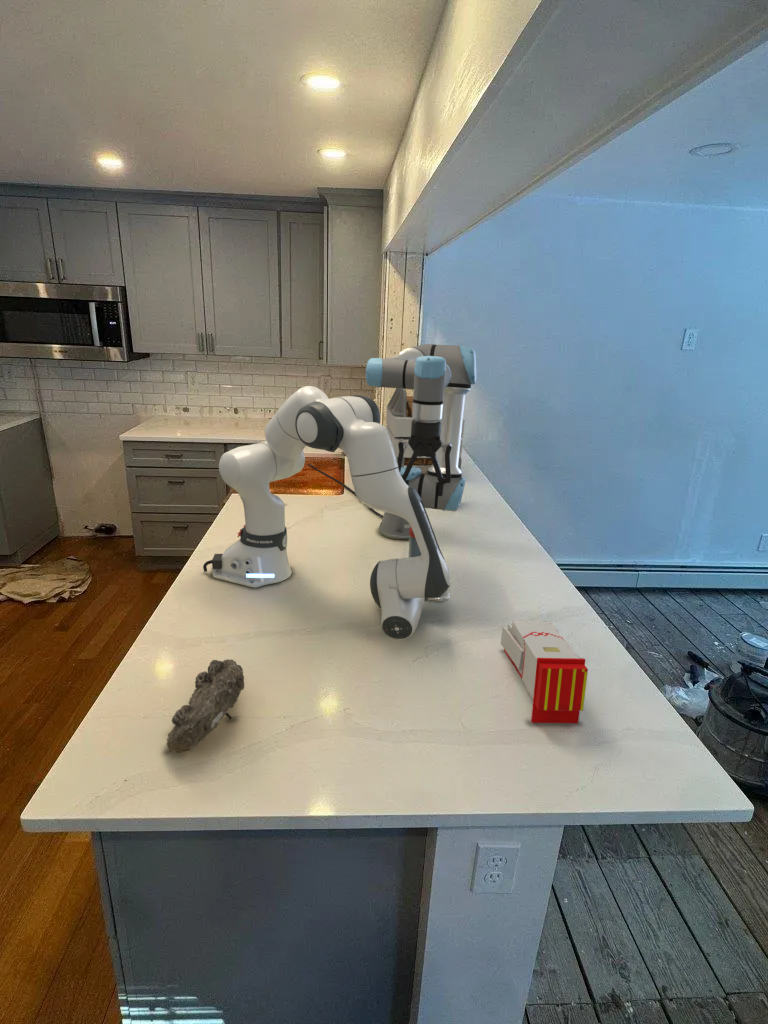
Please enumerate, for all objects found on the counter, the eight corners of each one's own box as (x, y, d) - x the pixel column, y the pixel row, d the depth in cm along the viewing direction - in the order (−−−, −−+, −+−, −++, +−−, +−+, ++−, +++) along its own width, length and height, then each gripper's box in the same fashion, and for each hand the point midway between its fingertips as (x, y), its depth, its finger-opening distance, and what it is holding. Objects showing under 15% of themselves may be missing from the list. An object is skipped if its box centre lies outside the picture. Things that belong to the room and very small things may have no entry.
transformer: (382, 463, 289) (386, 382, 275) (445, 464, 293) (451, 384, 279) (390, 482, 257) (394, 392, 243) (460, 483, 261) (468, 394, 247)
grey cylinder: (404, 589, 160) (408, 527, 154) (420, 588, 162) (424, 526, 155) (409, 597, 156) (413, 534, 150) (425, 596, 157) (430, 533, 151)
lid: (406, 531, 155) (406, 525, 154) (425, 530, 156) (425, 524, 155) (412, 539, 150) (412, 533, 149) (431, 538, 151) (431, 532, 150)
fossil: (192, 660, 117) (244, 628, 112) (224, 691, 120) (276, 661, 115) (142, 746, 98) (202, 712, 93) (182, 779, 101) (242, 748, 96)
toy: (547, 606, 135) (596, 665, 106) (541, 658, 138) (589, 729, 108) (496, 604, 134) (532, 664, 105) (492, 657, 137) (526, 729, 108)
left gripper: (449, 590, 141) (454, 567, 153) (369, 580, 144) (380, 558, 157) (447, 613, 143) (452, 588, 156) (368, 602, 146) (379, 578, 159)
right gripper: (466, 419, 145) (458, 504, 153) (388, 414, 147) (384, 498, 155) (467, 425, 138) (459, 513, 146) (385, 420, 140) (381, 507, 147)
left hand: (415, 573), depth 156 cm, fingers open, 8 cm apart
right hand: (420, 505), depth 150 cm, fingers open, 7 cm apart
